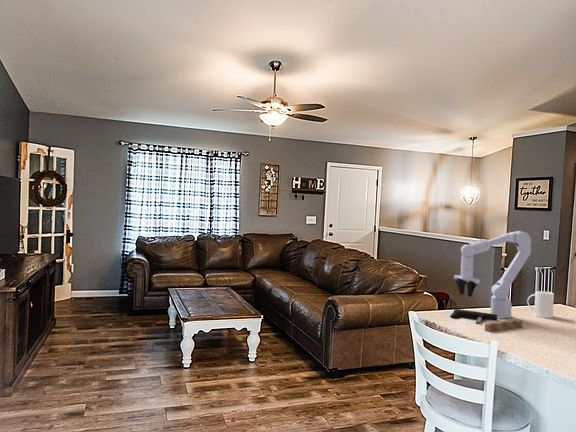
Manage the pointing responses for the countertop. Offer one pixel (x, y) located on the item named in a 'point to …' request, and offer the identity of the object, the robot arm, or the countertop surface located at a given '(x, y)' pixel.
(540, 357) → the countertop surface
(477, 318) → the door handle
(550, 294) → the mug
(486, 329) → the bar
